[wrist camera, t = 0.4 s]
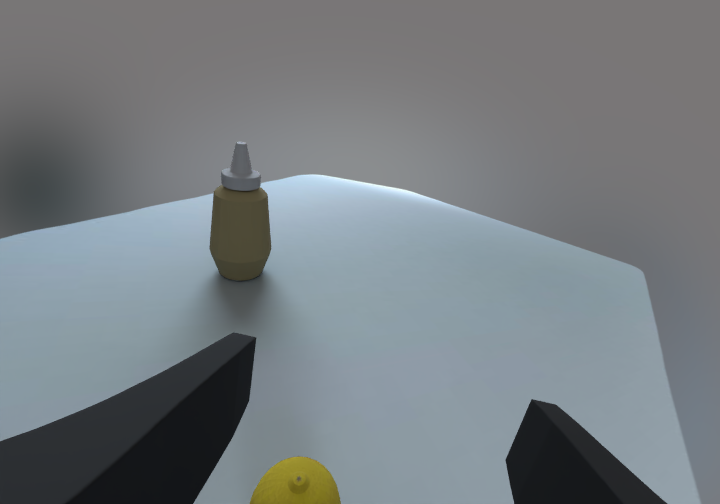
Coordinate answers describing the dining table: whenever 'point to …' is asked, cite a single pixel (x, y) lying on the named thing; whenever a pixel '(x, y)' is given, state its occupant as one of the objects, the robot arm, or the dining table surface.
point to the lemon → (296, 484)
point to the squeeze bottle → (240, 220)
